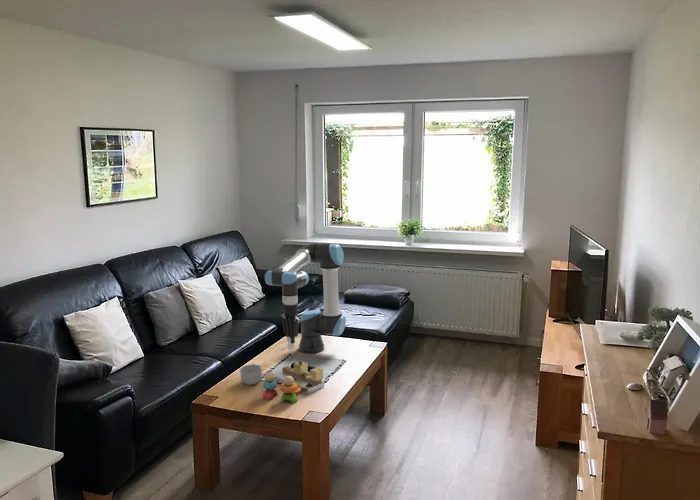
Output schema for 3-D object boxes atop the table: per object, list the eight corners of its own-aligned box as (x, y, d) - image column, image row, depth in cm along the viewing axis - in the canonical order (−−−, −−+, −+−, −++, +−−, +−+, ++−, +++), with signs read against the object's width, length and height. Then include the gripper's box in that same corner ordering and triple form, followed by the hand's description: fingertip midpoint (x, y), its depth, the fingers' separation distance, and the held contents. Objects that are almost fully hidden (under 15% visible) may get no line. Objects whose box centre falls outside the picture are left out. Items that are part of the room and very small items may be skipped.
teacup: (257, 387, 284) (256, 372, 282) (237, 386, 286) (236, 371, 284) (267, 377, 297) (266, 362, 296) (247, 375, 299) (246, 361, 298)
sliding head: (301, 373, 294) (300, 357, 293) (307, 375, 291) (307, 360, 289) (287, 378, 287) (286, 363, 286) (293, 381, 284) (293, 365, 282)
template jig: (287, 373, 301) (287, 356, 300) (324, 386, 284) (323, 369, 282) (271, 379, 293) (271, 362, 292) (308, 393, 276) (307, 375, 274)
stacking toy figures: (305, 390, 280) (305, 366, 278) (294, 405, 263) (293, 380, 261) (271, 387, 284) (270, 363, 282) (258, 402, 267) (257, 377, 265)
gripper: (275, 302, 282) (277, 348, 286) (293, 307, 273) (294, 353, 277) (287, 299, 287) (288, 344, 291) (304, 304, 279) (305, 350, 283)
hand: (291, 349), depth 284 cm, fingers closed
